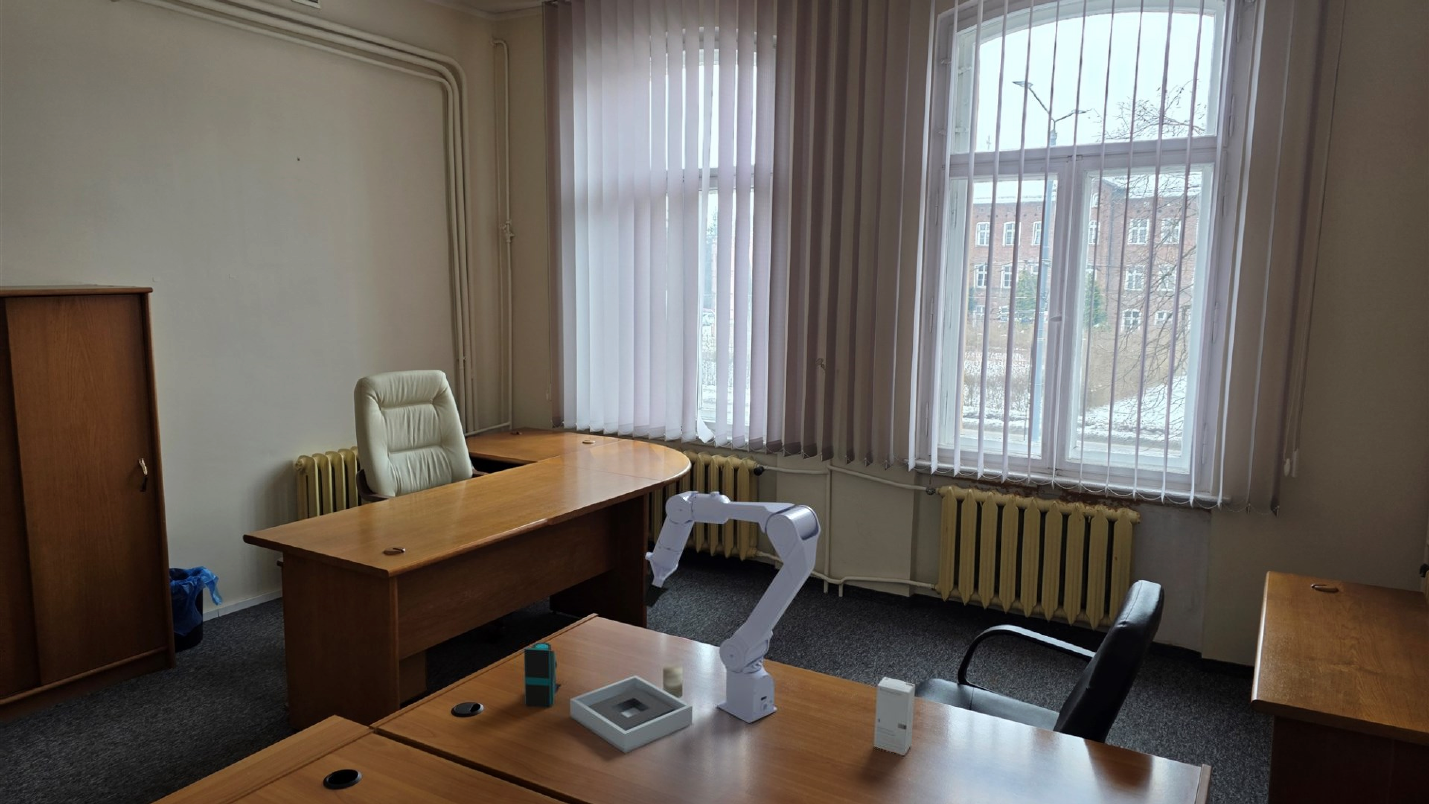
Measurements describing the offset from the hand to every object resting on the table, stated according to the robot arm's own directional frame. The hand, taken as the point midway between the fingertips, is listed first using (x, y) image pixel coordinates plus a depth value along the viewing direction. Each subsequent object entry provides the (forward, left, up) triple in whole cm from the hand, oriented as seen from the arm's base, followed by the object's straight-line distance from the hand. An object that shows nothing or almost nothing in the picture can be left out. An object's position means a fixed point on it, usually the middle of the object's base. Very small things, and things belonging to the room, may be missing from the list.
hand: (650, 595), depth 179 cm
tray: (-12, +14, -18) cm, 26 cm away
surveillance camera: (+8, +21, -19) cm, 29 cm away
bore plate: (-12, +14, -18) cm, 26 cm away
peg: (-9, +1, -18) cm, 21 cm away
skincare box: (-52, -16, -19) cm, 58 cm away
